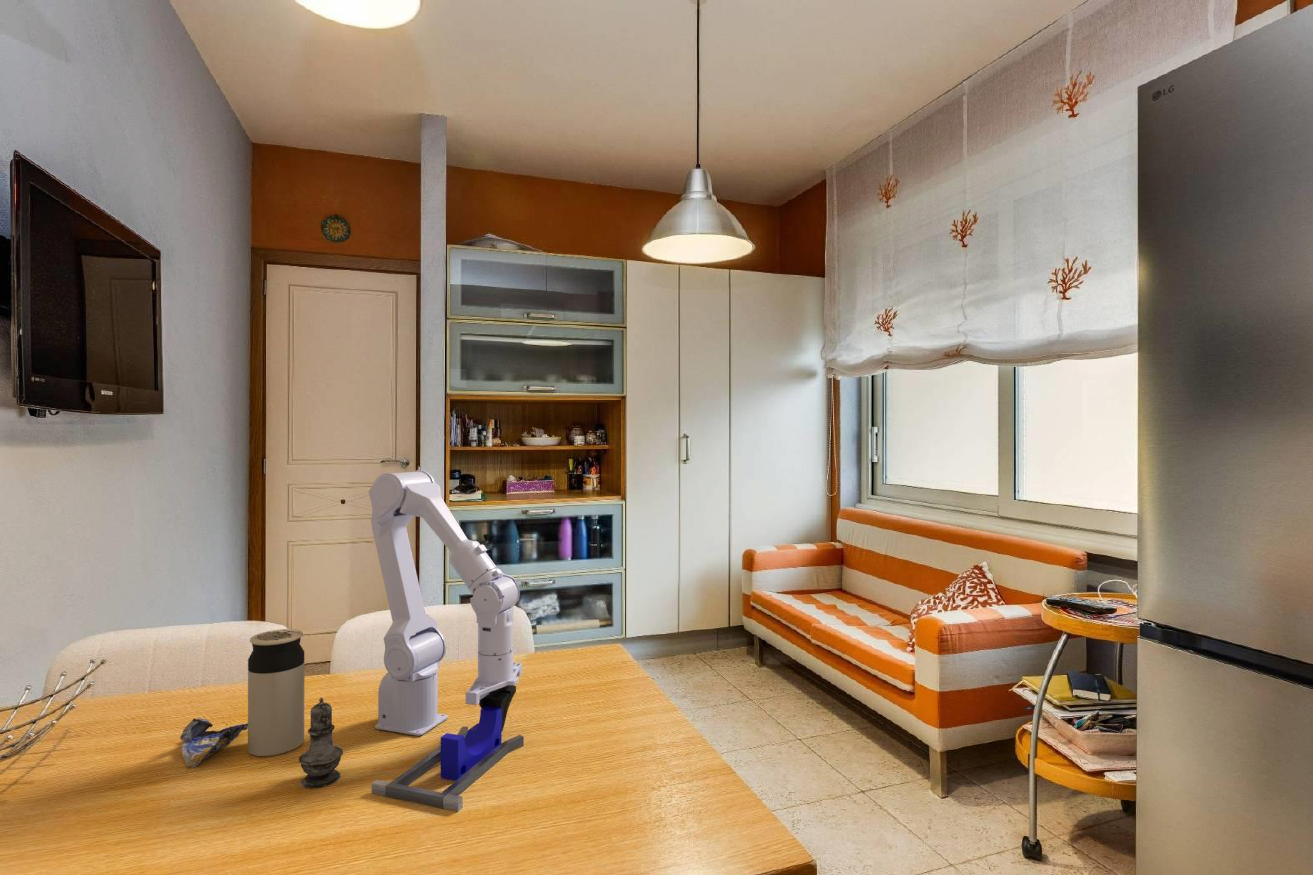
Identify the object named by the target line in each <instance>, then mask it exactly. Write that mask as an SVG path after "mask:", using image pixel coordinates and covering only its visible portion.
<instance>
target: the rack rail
mask: <svg viewBox="0 0 1313 875" xmlns="http://www.w3.org/2000/svg"><path fill="white" fill-rule="evenodd" d="M468 730H469V726H461V728H460V729H459V731H458V733H457V734H456V735H462V736H464V738H465V736H466V734H467V732H468ZM524 738H525V736H524V735H521V734H518V735H515V736H514V737H511V738H508V739H507V740H504V741H503V742H502V744H500V745H499V746H498V747H497V748H495V749H494V750H493V751H492V752H491V753H489V754H488V755H487V756H486V757H484V758H483V759H482V760H481V761H480V762H478V763H477V764H476V765H475V766H473V767H472V768H471V769H470V770H469V771H467V772H466V773H465V774H464V775H462V776H461V777H460V778H459V779H458V780H456V781H454V782H452V783H451V784H449V786H448V787H447V788H445V789H444V790H443V791H442V792H441V791H436V790H432V789H431V790H429V789H427V788H426V789H425V788H421V787H415V786H410V784H412V783H414V782H415V781H416V780H417V779H419V778H420V777H421V776H423V775H424V774H425V773H427V772H428V771H429V770H430V769H432V768H434V767H435V766H436V765H437V764H439V763H441V746H439V747H438V748H437V749H435V750H434V751H433V752H431V753H430V754H428V755H426V756H425V757H424V758H423V759H421V760H419V762H417V763H415V764H414V765H412V766H411V767H410V768H408V769H407V770H405V772H403V773H401V774H400V775H398V776H397V777H396V778H394V779H393V780H392V781H385V780H380V779H376V780H374V781H373V782H371V794H372V795H375V796H381V797H385V798H389V799H390V798H391V799H396V800H400V801H406V802H410V803H413V804H419V805H424V806H429V807H434V808H438V809H439V808H440V809H444V810H449V811H453V812H459V811H461V810H462V809H463V807H464V805H463V801H464V799H463V798H464V797H463V796H462V795H461V794H463V792H465V791H466V790H467V789H468V788H469V787H470V786H471V785H473V784H474V783H475V782H476V781H477V780H478V779H480V778H481V777H482V776H483V775H484V774H485V773H487V772H488V771H489V770H490V769H491V768H492V767H494V766H495V765H496V764H497V763H498V762H499V761H501V760H502V759H503V758H504V757H505V756H507V755H508V754H509V753H511V752H514V751H516V750H517V749H520V748H522V747H524V744H525V742H524Z"/></svg>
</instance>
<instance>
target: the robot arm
mask: <svg viewBox="0 0 1313 875" xmlns="http://www.w3.org/2000/svg"><path fill="white" fill-rule="evenodd" d="M441 490H442V489H441V486H440V485H439V484H438V483H437V482H435V479H434V477H433V475H432V474H430V473H429V472H427V471H425V470H421V469H420V470H414V471H409V472H408V471H406V472H393V473H392V472H385V473H381V474H380V475H378V477H377V478H376V479H375V481H373V484H372V485H371V487H370V488H369V490H368V495H369V499H370V503H371V508H372V510H371V520H370V524H371V530H372V535H373V540H374V543H375V549H376V552H377V557H378V562H379V567H380V571H381V575H382V579H383V584H384V589H385V593H386V598H387V602H388V603H387V604H388V607H389V611H390V616H391V620H392V623H391V624H390V626H389V628H388V630H387V631H386V633H385V634H384V636H383V643H384V654H383V663H384V667H385V669H386V671H387V672H386V673H385V674H384V675H383V676H382V678H381V680H380V682H379V685H378V692H377V695H378V700H377V703H378V704H377V705H378V706H377V707H378V709H377V710H378V711H377V712H378V713H377V715H378V716H377V719H378V721H377V724H375V725H374V729H376V730H382V731H387V732H388V731H389V732H395V733H400V734H406V735H413V736H417V737H419V736H420V737H421V736H422V735H424V734H426V733H427V732H429V731H431V729H433V728H435V727H437V726H438V725H439V724H441V723H442V722H444V721H445V720H447V719H448V718H449V715H448V714H445V713H438V707H439V706H438V701H439V700H438V692H439V691H438V690H439V689H438V686H439V685H438V681H439V679H438V677H439V673H438V670H439V668H440V666H441V665H440V662H441V661H442V660H443V659H444V657H445V656H446V654H447V648H448V646H447V641H446V638H445V636H444V635H443V633H442V632H441V630H440V629H439V625H438V622H437V620H436V619H435V618H434V617H432V616H431V615H429V614H427V613H426V610H425V606H424V600H423V596H422V593H421V592H422V591H421V587H420V583H419V579H418V574H417V570H416V566H415V561H414V556H413V553H412V548H411V543H410V539H409V534H408V529H407V527H408V524H409V523H410V522H411V521H412V519H413V518H414V517H418V518H419V517H420V518H422V519H423V520H424V522H425V523H426V524H427V525H428V527H430V529H431V530H432V531H433V532H434V533H435V535H436V536H437V537H438V539H439V540H440V541H441V542H442V544H443V545H444V546H445V547H446V548H447V549H448V550H449V553H450V556H449V561H448V562H449V564H450V565H451V567H452V568H453V569H454V571H455V573H456V574H457V575H458V577H459V578H460V579H461V581H462V583H464V586H466V588H467V589H468V590H469V592H470V593H471V595H472V597H470V598H469V602H470V606H471V608H472V610H473V611H474V613H475V616H476V623H477V677H476V678H475V680H474V682H473V683H472V685H471V686H470V688H468V689H467V690H466V691H465V704H466V705H469V706H470V705H471V706H472V705H473V706H477V705H479V707H480V710H481V709H482V708H484V707H485V706H487V707H494V708H501V709H502V732H503V730H504V729H505V728H504V727H505V723H506V718H507V714H508V710H509V708H510V705H511V702H512V700H513V699H514V696H515V694H516V692H517V686H516V685H517V684H518V683H519V682H520V678H519V677H520V676H522V675H523V663H521V662H514V606H516V604H517V603H518V602H519V600H520V597H521V596H520V594H521V591H520V587H519V584H518V582H517V581H516V579H515V577H514V576H513V575H510V574H506V573H504V572H503V571H502V570H501V568H498V567H497V565H496V564H495V563H494V561H493V560H492V559H491V557H490V556H489V554H488V553H487V551H488V550H487V547H486V546H485V545H484V544H480V542H479V541H476V540H470V539H468V537H467V536H466V534H465V533H464V531H463V529H462V528H461V527H460V525H459V523H458V521H457V520H456V518H455V516H454V515H453V514H452V511H451V510H450V509H449V507H448V505H447V504H446V502H445V501H444V499H443V497H442V491H441Z"/></svg>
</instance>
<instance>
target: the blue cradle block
mask: <svg viewBox="0 0 1313 875" xmlns="http://www.w3.org/2000/svg"><path fill="white" fill-rule="evenodd" d="M502 733H503V731H502V709H501V708H494V707H487V706H485V707H484V708H482V709H481V708H480V712H479V720H478V723H476V724H475V725H473V726H471V727H470V728H468V732H467V734H466V736H465V738H464V736H462V735H457V734H456V733H455V734H454V733H448V732H446V733H444V734H443V735H442V736H440V747H441V761H440V779H445V780H450V781H454V782H455V781H456V780H458V779H459V778H460V777H461V776H462V775H464V774H465V773H466V772H467V771H469V770H470V769H471V768H472V767H473V766H475V765H476V764H477V763H478V762H480V761H481V760H482V759H483V758H484V757H486V756H487V755H488V754H489V753H491V752H492V751H493V750H494V749H495V748H497V747H498V746H499V745H500V744H502V743H503V742H502V738H503V737H502Z"/></svg>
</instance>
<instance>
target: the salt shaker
mask: <svg viewBox="0 0 1313 875" xmlns="http://www.w3.org/2000/svg"><path fill="white" fill-rule="evenodd" d="M324 700H325V699H323V697H320V698H319V699H318V702H317V703H316V704H315V705H313V706H312V707H311V709H310V727H309V728H308V729H307V734H309V746H308V750H307V751H305V752H303V753H301V755H299V758H298V762H299V763H300V767H301V770H302V772H303V773H305V774H306V775H305V776H304V777H303V778H302V780H300V785H301V786H302V788H305V789H311V790H312V789H314V790H315V789H321V788H327V787H329V786H331V785H333V784H335V783H337V782H338V781H339V780H340V779H341V778H342V774H341V772H340V771H339V770H337V768H338V766H339V765H340V762H341V759H342V756H343V754H344V749H343V748H342V747H340V746H338V745H335V744H334V742H333V731H334V729H335V727H336V726H335V725H334V724H333V707H332V705H331V704H330V703H328V702H325V701H324Z"/></svg>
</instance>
